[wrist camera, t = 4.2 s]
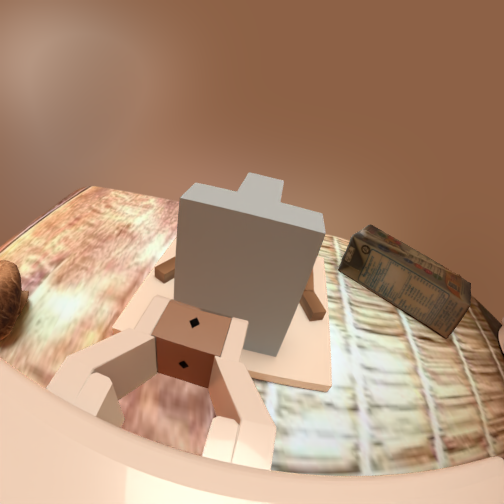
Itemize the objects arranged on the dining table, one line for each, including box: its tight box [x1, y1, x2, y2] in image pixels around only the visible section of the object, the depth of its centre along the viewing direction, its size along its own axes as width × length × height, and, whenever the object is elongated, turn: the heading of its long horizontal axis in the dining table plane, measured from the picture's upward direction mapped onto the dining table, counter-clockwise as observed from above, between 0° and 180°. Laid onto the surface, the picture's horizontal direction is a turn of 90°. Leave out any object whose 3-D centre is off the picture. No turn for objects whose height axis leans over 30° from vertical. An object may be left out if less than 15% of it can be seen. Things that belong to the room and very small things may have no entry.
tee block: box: [174, 173, 325, 357], centre depth 24 cm, size 9×8×12 cm
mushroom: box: [0, 260, 29, 340], centre depth 18 cm, size 8×8×6 cm
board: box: [112, 237, 332, 392], centre depth 30 cm, size 19×20×1 cm
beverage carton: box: [339, 225, 471, 338], centre depth 35 cm, size 8×19×6 cm, turn 48°
